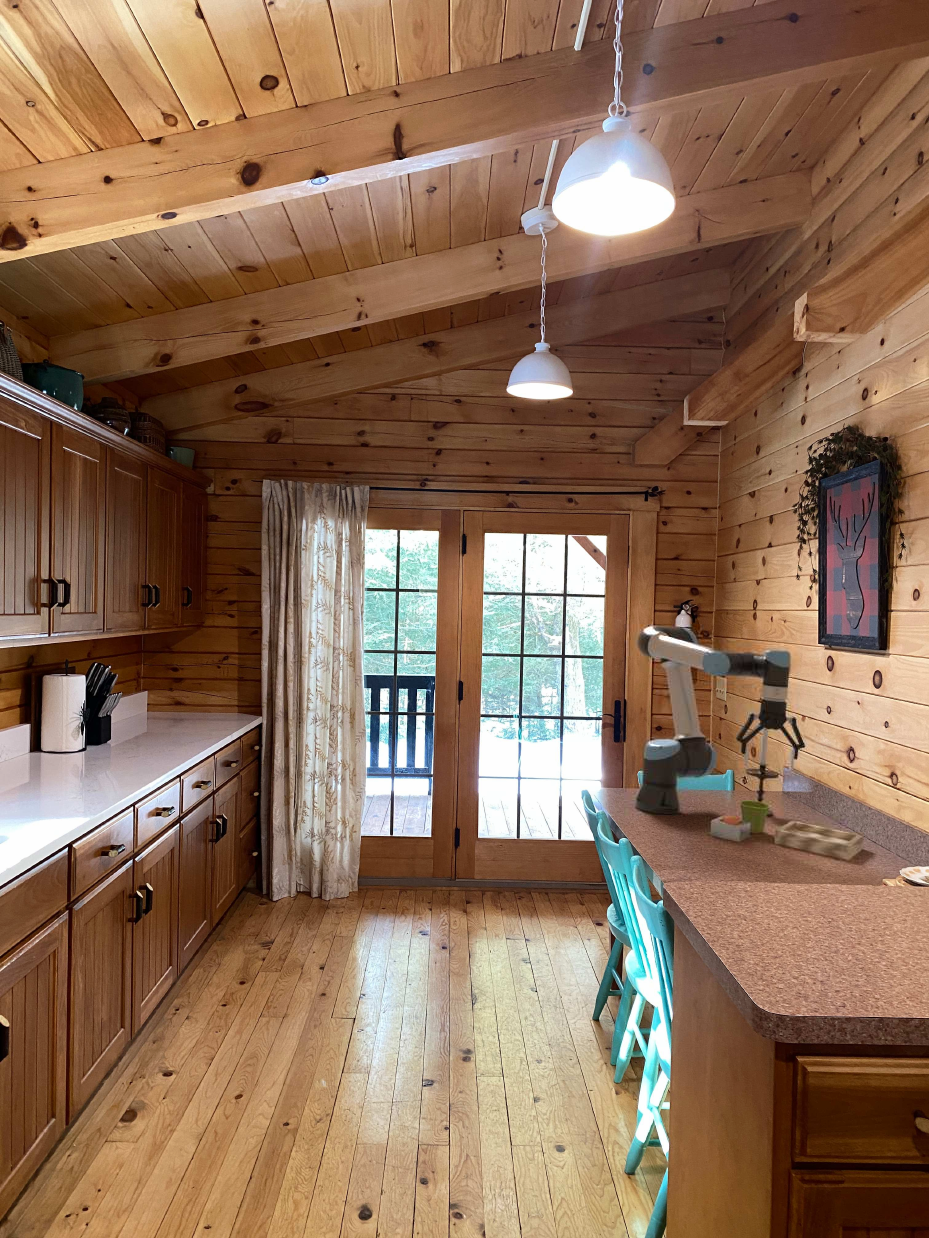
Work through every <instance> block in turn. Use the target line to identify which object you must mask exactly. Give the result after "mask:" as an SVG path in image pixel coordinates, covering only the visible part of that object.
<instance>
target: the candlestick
mask: <svg viewBox="0 0 929 1238" xmlns="http://www.w3.org/2000/svg"><path fill="white" fill-rule="evenodd" d="M761 735H762V736H761V747H760V760H759V762H758V763H756V764H757V765H759V766H758V767H759V768H745V774H746V775H748V776H752V777H756V778H757V779H758V780H759V781H758V784H759V785H758V789H756V794H757V797H756V800H757V802H762V803H763V801H764V800H765V798H763V796H764V795H765V792H766V791H765V790H764V780H766V779H777V778H779V775H780V774H779V773H778V772H777V771H774V770H769V769H766V767H768V766H770V765H769V764H767V750H768V739H769V729H766V728H763V729H762V733H761ZM773 814H774V811H772V810H770V809H769V811H768V813H767V817H768V818H769V817H773V816H774V815H773ZM767 817H766V818H767Z"/></svg>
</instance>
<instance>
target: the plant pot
mask: <svg viewBox="0 0 929 1238" xmlns="http://www.w3.org/2000/svg"><path fill="white" fill-rule="evenodd" d="M739 805H740V810H741V820H743V821H748V822H750V834H757V835H758V834H763V833H764V828H765V824H766V820H767V813H768V811H769V810H770V809H771V805H770V804H769V803H766V802H763V801H762V802H758V800H757V801H756V800H741V801H739Z"/></svg>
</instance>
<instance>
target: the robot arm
mask: <svg viewBox="0 0 929 1238" xmlns="http://www.w3.org/2000/svg"><path fill="white" fill-rule="evenodd" d="M636 643H637V647H638V648H637V649H638V650H639V652H641V654H642V655H643V656H645V657H647V658H651V659H655V660H659V661H660V662H659V663H660V666H661V667H662V668H663V669H665V672H666V678H667V679H666V680H667V686H668V692H669V698H670V699H669V700H670V704H671V711H672V719H673V724H674V730H675V731H674V732H675V733H674V734H675V735H674V737H673V739H667V738H665V739H663V738H662V739H659V738H658V739H652V740H650V741H648V742H646V743H645V746H644V753H643V767H642V768H643V769H642V780H641V781H642V782H641V786H640V788H639V791H638V794H637V795H636V798H635V804H634V806H635V808H636V809H638V810H640V811H644V812H647V813H651V814H656V815H657V814H659V815H678V814H680V813H681V809H682V808H681V800H680V797H679V793H678V779H686V778H687V779H688V778H694V779H698V778H703V777H707V776H709V775H710V774H712V772H713V771H714V769H715V767H716V765H717V753H716V749H715V748H714V747H713V746H712V744H710V743H708V741H707V736H706V735H704V734H703V733H702V731H701V726H700V721H699V713H698V709H697V703H696V702H697V701H696V695H695V690H694V683H693V682H694V681H693V677H692V671H691V668H692V667H693V668H695V669H699V670H702V671H704V672H705V673H706V674H707V675H709V676H715V677H721V676H722V677H723V676H724V677H725V676H726V677H731V676H732V677H752V678H758V679H762V687H761V697H762V698H761V700H760V709H759V713H758V714H757V713H753V712H751V711H750V712H749V713H748V718H747V720H746V722H745V723H744V724H743V726H742V728H741V729H740V730H739V732H738V734H737V736H736V737H735V739H736V741H737V742H740V743H741V747H740V752H741V754H742V755H743V763H742V764H743V765H744V766H748V761H749V751H750V744H749V742H750V741H751V740H752V739H753V738H754V737H755V736H756V735H757V734H758V733H759V732H761V731H763V728H766V729H768V730H774V731H778V730H780V731H781V732H782V733H783V736H784V737H786V740H788V742H789V743H790V745H791V746H792V747H790V749H789V751H790V752H789V758H788V760H789V762H788V770H790V771H794V764H795V760H798V756H799V751H800V749H805V747H806V745H805V741H804V740H803V737H802V735H801V732H800V730H799V727H798V725H797V718H796V717H795V716H793V715H792V716H789V717H788V716H786V715H787V705H788V703H787V701H786V700H788V692H789V691H788V690H789V681H790V673H791V672H790V669H791V667H792V666H791V658H792V657H791V653H790V651H787V650H783V649H782V650H781V649H767V650H765V654H760V653H755V652H750V651H749V652H748V651H741V652H735V651H734V652H730V651H723V650H720V649H719V650H718V649H715V648H711V647H708V646H705V645H700V644H699V642H698V639H697V636H696V635H695V633H694V632H693V631H692V630H691V629H689V628H686V627H681V626H663V625H662V626H661V625H651V626H648V627H645V628H644V629H643V630H642V631H640V633H639V634H638V636H637V642H636ZM757 719H758V720H759V723H758V724H757V725H756V726H755V727H754V728H753V729H752V730H751V731H750V732H749V733H748V734H747V735H746V733H747V731H748V730H749V729H750V727H751V726H752V724H753V722H754V721H757ZM787 722H788V724H790V726H791V728H792V732H793V734H794V736H795V738H796V740H797V742H796V741H795V740H794V739H793V737H792V736H791V734H790V733H789V732H788V730H787V729H786V728H785V726H784V725H785V724H786V723H787Z"/></svg>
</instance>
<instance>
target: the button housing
mask: <svg viewBox="0 0 929 1238" xmlns="http://www.w3.org/2000/svg"><path fill="white" fill-rule="evenodd" d="M722 820H723V815H722V816H719V817H717V818H715V819H712V820H711V822H710V832H709V833H710V834H709V835H710V836H712V837H717V838H721V839H725V840H728V841H729V840H730V841H734V842H737V843H740V842H741V841H744V840H746V839H748V838H749V837H750V834H751V833H750V822H748V821H743V820H742V819H740V822H739V825H734V824H730V823H725V822H722Z"/></svg>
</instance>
